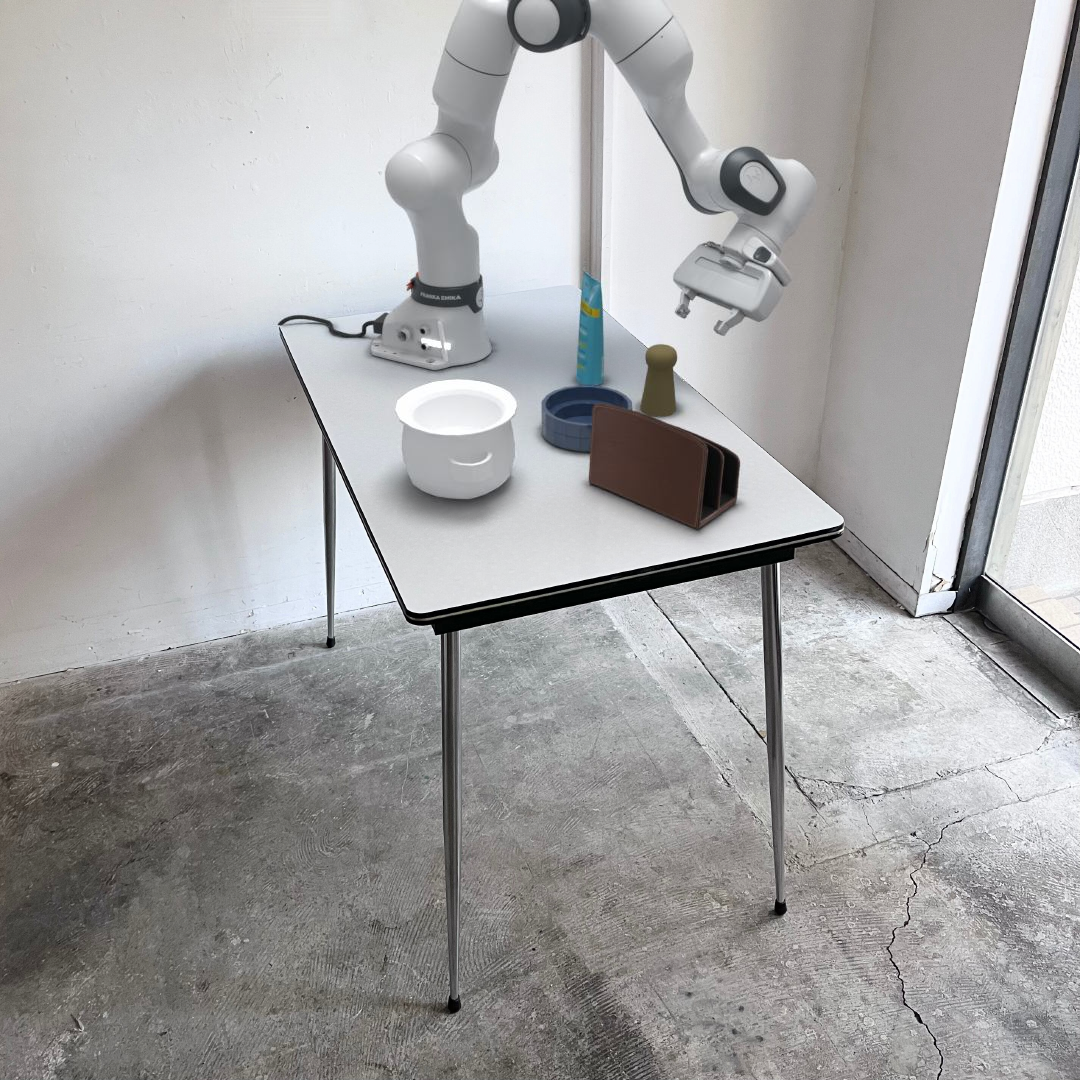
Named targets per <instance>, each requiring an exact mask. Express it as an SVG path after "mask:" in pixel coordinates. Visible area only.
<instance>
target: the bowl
mask: <svg viewBox="0 0 1080 1080" xmlns="http://www.w3.org/2000/svg"><path fill="white" fill-rule="evenodd" d="M597 403H604V404H609V405H613V406H618V407H622V408H626V409H630V410H633V401H632V400H631V398H630V397H628V395H627V394H625V393H623V392H621V391H619V390H618V389H614V388H611V387H607V386H603V385H596V386H595V385H581V384H578V385H570V386H564V387H561V388H558V389H554V390H553V391H551V392H549V393H548V394H545V396H544V397H543V399H541V406H540V407H541V415H540V416H541V434H542V436H543V437H544V439H545V440H546V441H547V442H549V443H550V444H552V445H554V446H555V447H556V446H557V447H560V448H563V449H565V450H568V451H569V450H570V451H577V452H590V446H591V445H590V444H591V431H592V410H593V406H594V405H595V404H597ZM633 411H634V410H633Z"/></svg>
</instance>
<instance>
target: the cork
mask: <svg viewBox="0 0 1080 1080" xmlns="http://www.w3.org/2000/svg"><path fill="white" fill-rule="evenodd" d="M644 355H645V356H644V357H645V358H644V359H645V363H646V365H647V371H646V375H645V380H644V386H643V391H642V395H641V401H640V406H639V410H640V411H641V413H643V414H646V415H649V416H651V417H655V418H656V417H657V418H661V417H668V416H672V415H673V414H675V413H676V411H677V403H676V389H675V373H674V367H675V366H676V364H677V361H678V353H677V350H676V349H675V348H674V347H673V346H672V345H669V344H664V343H663V344H662V343H657V344H653V345H651V346H649V347H648V349H647V350H646V352H645V354H644Z"/></svg>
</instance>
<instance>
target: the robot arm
mask: <svg viewBox="0 0 1080 1080" xmlns="http://www.w3.org/2000/svg"><path fill="white" fill-rule="evenodd" d="M587 36H589V37H592V38H593V39H594V40H596V41H597V42H598V43H599V44H600V46H601V47H602V48H603V50H604V51H605V53H607V55H608V56H609V59H611V61H612V63H613V64H614V66H615V67H616V68H617V70H618V71H619V73H620V74H621V76H622V77H623V79H624V80H625V81H626V83H627V84H628V86H629V87H630V89H631V91H633V93H634V95H635V96H636V99H638V102H639V103H640V105H641V107H642V109H643V111H644V112H645V115H646V116H647V118H648V120H649V122H650V123H651V125H652V127H653V129H654V130H655V132H656V133H657V135H658V137H659V138H660V140H661V142H662V143H663V145H664V147H665V148H666V150H667V152H668V153H669V156H670V157H671V159H672V160H673V162H674V164H675V165H676V168H677V170H678V173H679V177H680V181H681V186H682V190H683V193H684V196H685V198H686V200H687V202H688V203H689V205H690V206H691V207H692V208H693V209H694V210H695V211H697V212H699V213H700V214H703V215H707V216H714V215H720V214H723V213H727V212H732V213H733V214H735V216H736V217H737V221H736V223H735V224H734V225H733V227H732V228H731V230H730V231H729V233H728V234H727V236H726V237H725V239H723V241H722V243H721V244H719V243H717V242H715V241H712V240H711V241H710V240H708V241H707V242H703V243H699V244H698V245H697V246H696V247H695V248H694V249H693V250H692V251H691V252H689V254H688V255H687V256H686V257H685V259H684V260H682V262H681V263H680V264H679V265H678V267H677V268H676V269H675V271H674V272H673V275H672V279H673V280H672V281H673V282H674V284H675V285H677V287H678V288H679V289H680V290H681V292H680V296H679V304H678V305H677V307H676V308H675V309H674V314H675V315H676V316H677V317H680V318H681V319H684V320H685V319H686V318H687V317H688V315H689V314H690V313H691V309H690V308H689V306H690V302H691V301H694V300H695V298H696V297H698V298H700V299H703V300H705V301H707V302H709V303H712V304H715V305H717V306H719V307H721V308H724V309H726V310H729V311H730V312H729V313H730V315H728V316H727V317H726V318H724V319H723V320H720V319H718V320H717V322H716V324H715V325H714V326H713V331H714V332H715V334H717V335H720V336H723V337H725V336H726V335H727V333H728V332H729V330H730V329H733V328H734V327H735V326H737V325H739V324H741V323H742V322H743V320H744V319H745V318H748V319H750V320H752V321H755V322H757V323H760V322H763V321H765V320H767V319H768V318H769V316H771V314H772V313H773V311H774V310H775V308H776V307H777V305H778V304H779V302H780V300H781V298H782V296H783V294H784V290H785V289H784V287H787V286H789V284H790V283H791V282H792V281H793V275H792V274H791V272H790V271H789V269H788V267H786V265H785V264H784V262H783V261H782V260H781V259H780V258H779V257H780V255H781V253H782V251H783V249H784V246H785V244H786V242H787V241H788V240H789V239H790V238H791V237H792V236H793V235H794V234H795V233H797V231H798V229H799V228H800V226H801V225H802V224H803V222H804V221H805V218H806V217H807V215H808V214H809V212H810V211H811V208H812V207H813V206H814V202H815V200H816V198H817V195H818V188H819V187H818V182H817V180H816V177H815V175H814V174H813V172H812V171H811V170H810V169H809V168H808V167H807V166H806V165H805V164H803V163H802V162H800V161H799V160H797V159H793V158H785V159H784V158H778V157H774V156H771V155H768V154H766V153H764V152H763V151H761V150H760V149H758V148H756V147H753V146H736V147H732V148H727V149H724V150H722V149H719V148H717V147H715V146H714V145H713V144H712V143H711V142H710V141H709V140H708V138H707V137H706V135H705V133H704V131H703V130H702V128H701V126H700V124H699V122H698V121H697V120H696V117H695V116H694V114H693V112H692V111H691V108H690V107H689V105H688V103H687V99H686V86H687V82H688V80H689V77H690V75H691V73H692V69H693V63H694V51H693V48H692V45H691V43H690V40H689V38H688V36H687V34H686V32H685V30H684V28H683V27H682V25H681V23H680V22H679V20H678V19H677V17H676V16H675V14H674V13H673V11H672V10H671V8H670V7H669V6H668V5H667V3H666V2H665V0H461V3H460V4H459V7H458V9H457V11H456V13H455V16H454V18H453V20H452V23H451V25H450V28H449V31H448V34H447V38H446V40H445V44H444V47H443V50H442V54H441V57H440V61H439V64H438V68H437V71H436V74H435V78H434V81H433V85H432V88H431V89H432V90H431V92H432V98H433V100H434V102H435V105H436V106H437V107H438V108H437V109H438V111H437V123H436V126H435V127H434V129H433V131H432V132H431V134H429V135H428V136H425V137H421V138H420V139H417V140H415V141H412V142H409V143H407V144H406V145H404V146H403V147H402V148H401V149H399V150H398V151H397V152H396V153H395V154H393V156H392V157H391V158H390V159H389V160H388V162H387V163H386V166H385V170H384V182H385V186H386V190H387V193H388V194H389V196H390V198H391V199H392V201H393V202H394V203H395V204H396V205H397V206H399V207H400V208H401V209H403V210H404V211H405V213H406V215H407V218H408V220H409V222H410V225H411V227H412V231H413V234H414V241H415V248H416V257H417V259H416V260H417V270H418V271H416V273H415V275H414V276H413V277H412V278H410V280H409V282H408V283H407V284H406V285H405V286H406V291H407V292H409V291H410V295H409V296H408V297H407V298H405V299H404V300H402V301H401V302H400V303H399V304H397V305H395V307H394V308H393V309H392V310H391V311H389V312H383V313H382V314H381V315H379V316H378V317H377V318H375V319H373V320H368V321H366V322H364V323H363V324H362V325H361V332H359V333H347V332H343V331H340V330H337V329H336V328H335V327H334V324H333V323H332V321H331V320H329V319H325V318H320V317H317V316H313V315H305V314H294V315H288V316H287V317H284V318H283V319H281V320H279V322H278V323H277V326H283V325H285V324H286V323H288V322H290V321H293V320H295V321H296V320H305V321H307V320H308V321H311V322H312V321H314V322H317V323H321V324H325V325H327V326H328V330H329V331H330V332H331V334H333V335H336V336H339V337H343V338H347V339H360V338H362V337H365V336H366V334H367V327H369V326H372V329H373V330H372V331H373V334H377V337H376V338H375V339H374V340H373V341H372V343H371V345H370V354H371V356H374V357H377V358H382V359H386V360H391V361H395V362H398V363H403V364H408V365H411V366H415V367H419V368H423V369H428V370H432V371H439V370H443V369H446V368H449V367H454V366H462V365H468V364H472V363H475V362H478V361H481V360H483V359H485V358H487V357H488V356H489V355H490V354H491V352H492V345H491V342H490V340H489V336H488V331H487V328H486V323H485V322H486V321H485V316H484V309H483V308H484V301H485V290H484V280H483V275H482V274H481V265H480V263H481V262H480V260H481V259H480V237H479V233H478V232H477V230H476V228H475V227H474V226H473V225H471V224H470V223H468V221H467V218H466V216H465V212H464V209H463V196H464V195H466V194H469V193H471V192H473V191H476V190H477V189H479V188H480V187H482V186H483V185H484V184H485V183H486V182H488V180H489V179H490V178H492V177H493V175H494V174H495V173H496V171H497V169H498V167H499V163H500V150H499V146H498V143H497V142H496V139H495V133H496V131H495V130H496V122H497V121H496V120H497V116H498V111H499V108H500V104H501V103H502V99H503V96H504V93H505V90H506V86H507V83H508V80H509V77H510V74H511V71H512V68H513V65H514V62H515V59H516V56H517V54H518V52H519V49H520V47H522V48H523V49H525V50H527V51H529V52H530V53H531V52H532V53H536V54H545V53H553V52H555V51H558V50H561V49H563V48H565V47H568V46H570V45H573V44H576V43H579V42H582V41H584V40H585V39H586V37H587Z"/></svg>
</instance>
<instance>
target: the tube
mask: <svg viewBox="0 0 1080 1080" xmlns="http://www.w3.org/2000/svg"><path fill="white" fill-rule="evenodd" d="M582 271H583V274H582V284H581V293H580V305H579V320H578V321H579V323H578V336H577V337H578V338H577V355H576V356H577V357H576V359H577V360H576V378H575V379H576V383H578V384H579V385H595V386H600V385H602V384H603V383H604V381H605V348H604V346H605V345H604V343H605V341H604V340H605V339H604V304H603V303H604V302H603V290H602V282H601V281H600V280H598V279H597V278H596V277H595V278H594V277H593V276H592V275H590V274H589V273H588V272H587V271H586V270H585V269H584V268H582Z"/></svg>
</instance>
